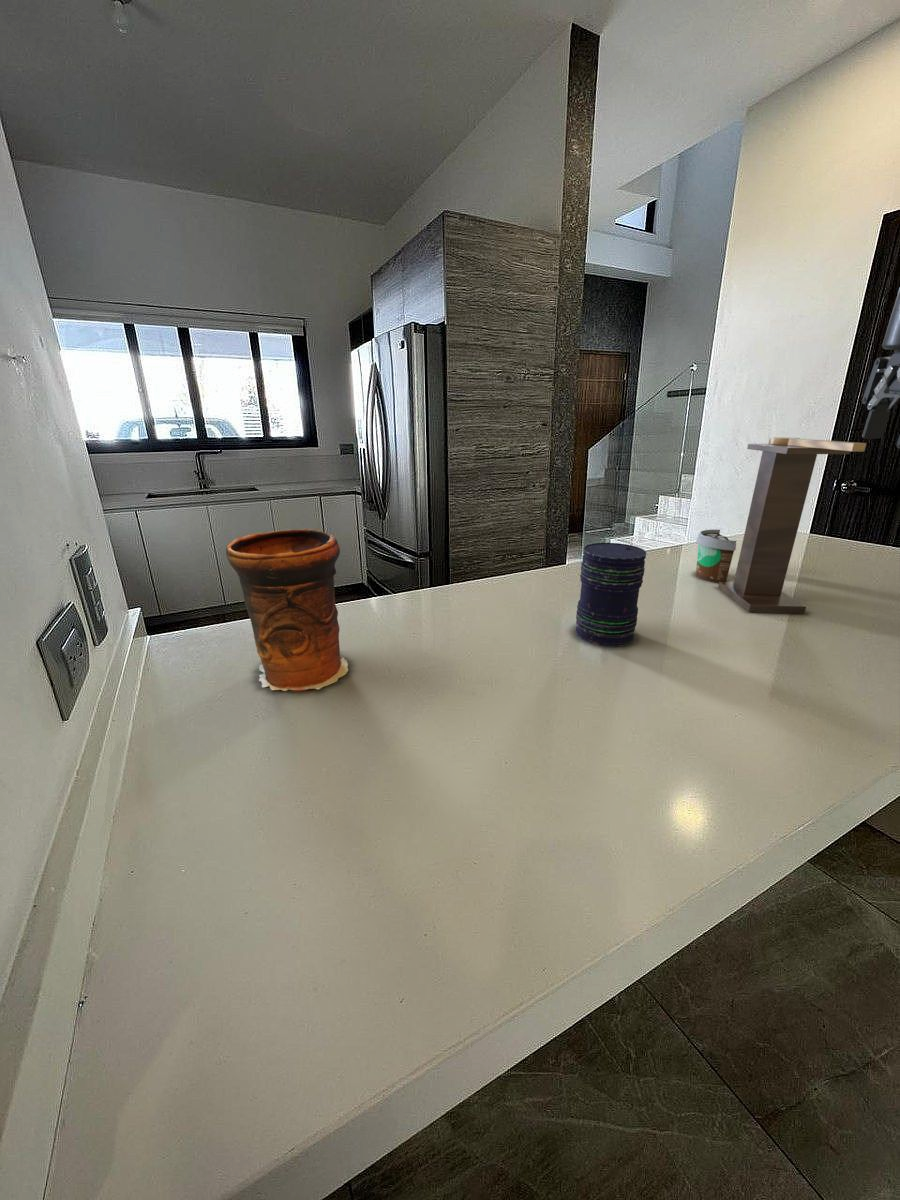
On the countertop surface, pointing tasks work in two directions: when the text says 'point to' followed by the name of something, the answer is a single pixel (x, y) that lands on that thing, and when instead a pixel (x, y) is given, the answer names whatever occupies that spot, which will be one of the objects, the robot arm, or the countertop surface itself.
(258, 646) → the vessel
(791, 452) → the brown pedestal stand
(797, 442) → the wooden spoon
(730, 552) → the food container
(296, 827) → the countertop surface
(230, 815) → the countertop surface
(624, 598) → the storage jar
